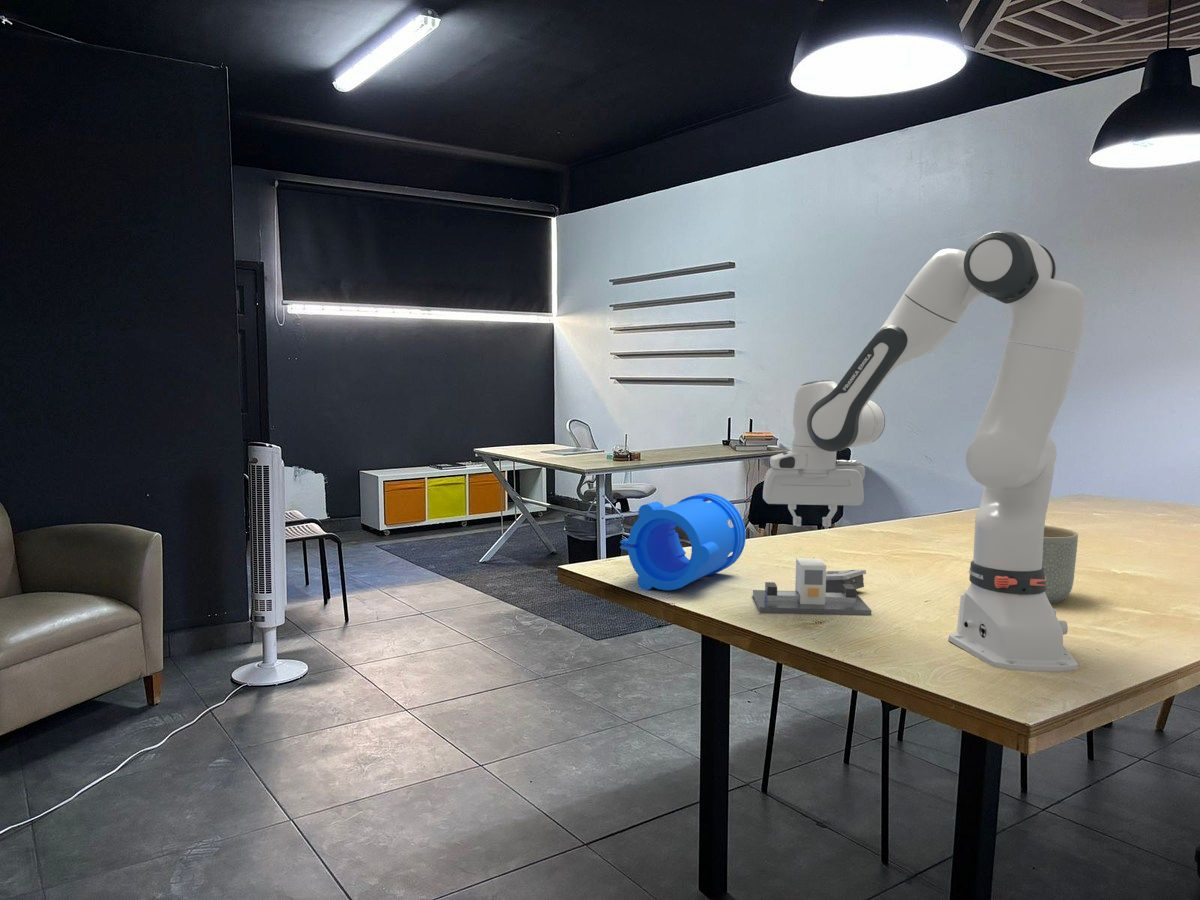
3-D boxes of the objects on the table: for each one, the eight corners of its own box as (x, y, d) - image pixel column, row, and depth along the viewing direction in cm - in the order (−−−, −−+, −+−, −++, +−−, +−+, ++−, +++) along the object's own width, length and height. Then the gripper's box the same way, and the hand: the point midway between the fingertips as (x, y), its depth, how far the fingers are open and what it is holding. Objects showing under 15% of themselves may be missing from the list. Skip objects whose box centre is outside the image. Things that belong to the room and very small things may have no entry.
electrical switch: (868, 569, 190) (844, 567, 184) (869, 593, 189) (845, 591, 183) (831, 571, 197) (807, 569, 191) (832, 593, 196) (808, 592, 190)
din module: (825, 605, 175) (827, 566, 174) (801, 604, 175) (802, 566, 174) (818, 595, 182) (820, 558, 182) (795, 595, 183) (796, 558, 182)
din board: (871, 617, 171) (872, 595, 171) (759, 614, 173) (760, 592, 173) (855, 599, 185) (856, 579, 185) (752, 596, 187) (753, 576, 186)
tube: (667, 565, 217) (668, 489, 215) (749, 576, 206) (751, 496, 204) (619, 586, 195) (620, 502, 194) (708, 599, 184) (710, 510, 183)
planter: (1026, 612, 176) (1029, 539, 175) (970, 592, 192) (973, 524, 191) (1092, 607, 181) (1097, 535, 179) (1032, 588, 197) (1036, 521, 195)
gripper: (861, 458, 179) (859, 524, 180) (762, 457, 180) (760, 522, 181) (869, 461, 173) (866, 529, 174) (766, 460, 174) (764, 527, 175)
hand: (811, 526), depth 178 cm, fingers open, 5 cm apart
